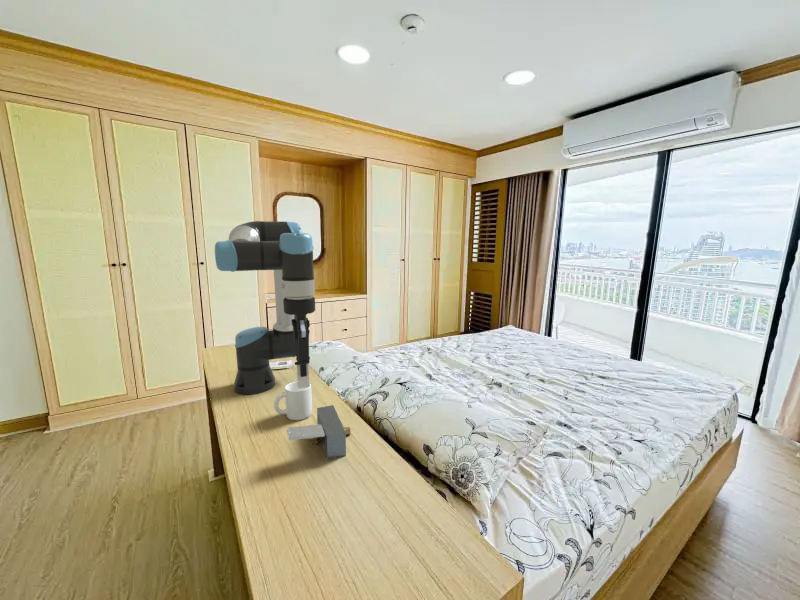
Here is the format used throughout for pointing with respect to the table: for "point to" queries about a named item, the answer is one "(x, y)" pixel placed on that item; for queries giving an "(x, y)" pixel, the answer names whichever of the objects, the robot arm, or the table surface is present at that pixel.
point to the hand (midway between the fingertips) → (303, 386)
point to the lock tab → (305, 432)
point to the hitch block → (332, 432)
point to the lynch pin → (314, 440)
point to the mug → (295, 401)
